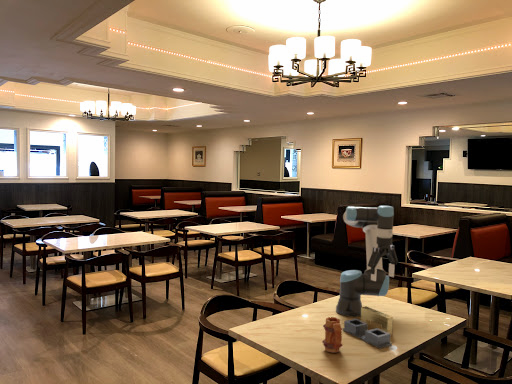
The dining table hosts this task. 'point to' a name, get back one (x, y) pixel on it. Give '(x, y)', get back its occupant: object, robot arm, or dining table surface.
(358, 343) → the dining table surface
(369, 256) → the robot arm
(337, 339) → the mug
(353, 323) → the grey double socket base
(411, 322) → the dining table surface
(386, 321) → the tan wooden block
